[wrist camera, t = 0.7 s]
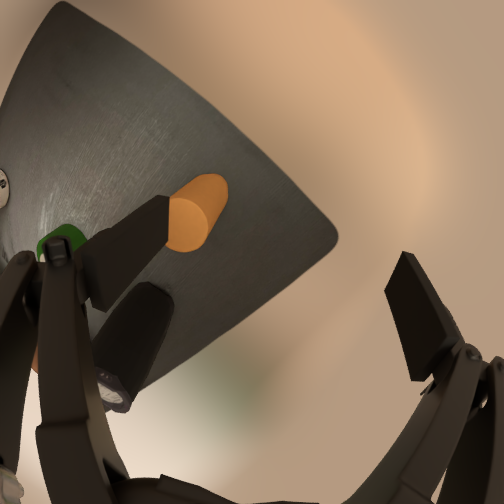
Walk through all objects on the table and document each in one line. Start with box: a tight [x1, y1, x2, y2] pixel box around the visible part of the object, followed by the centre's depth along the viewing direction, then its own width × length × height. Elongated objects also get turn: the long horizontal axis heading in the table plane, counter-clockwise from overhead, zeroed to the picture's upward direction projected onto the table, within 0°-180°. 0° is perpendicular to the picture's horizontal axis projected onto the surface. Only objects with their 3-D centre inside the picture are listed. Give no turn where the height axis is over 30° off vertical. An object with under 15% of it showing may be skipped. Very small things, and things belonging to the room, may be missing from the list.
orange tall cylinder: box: [165, 174, 228, 252], centre depth 28 cm, size 5×5×13 cm
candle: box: [37, 224, 87, 262], centre depth 35 cm, size 8×8×10 cm
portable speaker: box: [91, 282, 174, 413], centre depth 34 cm, size 9×9×20 cm
